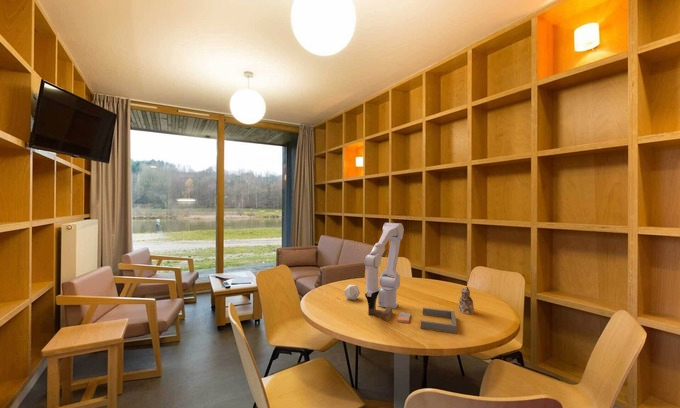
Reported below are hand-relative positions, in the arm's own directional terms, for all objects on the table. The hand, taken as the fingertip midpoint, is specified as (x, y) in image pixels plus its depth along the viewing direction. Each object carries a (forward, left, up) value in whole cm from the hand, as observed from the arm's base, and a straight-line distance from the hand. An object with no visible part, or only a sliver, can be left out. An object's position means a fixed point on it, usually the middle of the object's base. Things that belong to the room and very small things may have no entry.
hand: (372, 307), depth 144 cm
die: (-16, +20, -4) cm, 26 cm away
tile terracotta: (+16, -3, -4) cm, 16 cm away
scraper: (+4, 0, -3) cm, 5 cm away
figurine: (+44, +20, -4) cm, 48 cm away
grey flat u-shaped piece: (+30, 0, -3) cm, 30 cm away
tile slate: (+16, +3, -4) cm, 16 cm away
